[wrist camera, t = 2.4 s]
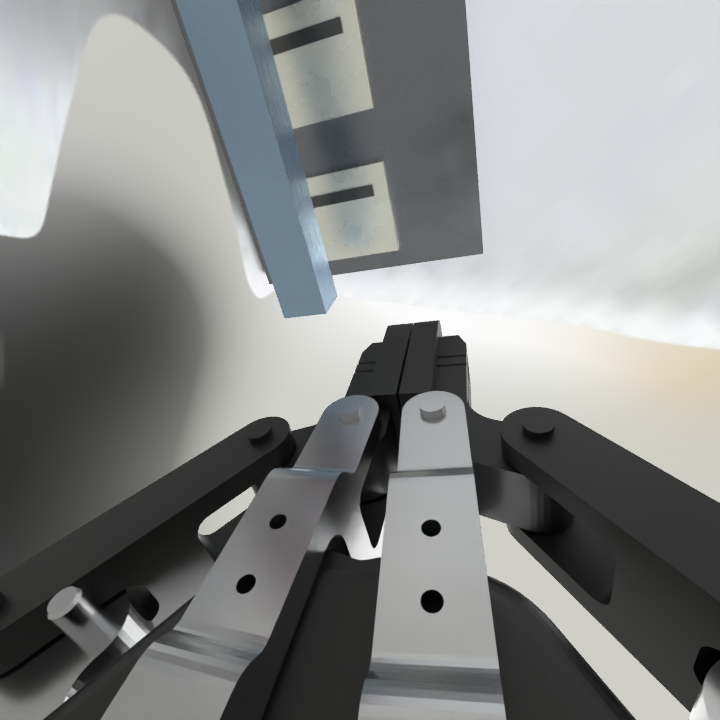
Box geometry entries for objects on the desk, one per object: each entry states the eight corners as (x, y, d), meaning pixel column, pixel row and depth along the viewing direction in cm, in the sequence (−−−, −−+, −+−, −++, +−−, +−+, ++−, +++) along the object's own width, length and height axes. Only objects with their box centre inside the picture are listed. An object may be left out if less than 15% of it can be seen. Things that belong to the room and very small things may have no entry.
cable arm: (151, -121, 17) (98, -158, 14) (235, -165, 16) (192, -213, 13) (290, 300, 26) (272, 321, 24) (349, 292, 25) (336, 314, 23)
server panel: (454, -145, 19) (450, -231, 14) (482, 247, 28) (485, 281, 23) (173, -25, 24) (93, -57, 19) (275, 278, 33) (240, 312, 28)
